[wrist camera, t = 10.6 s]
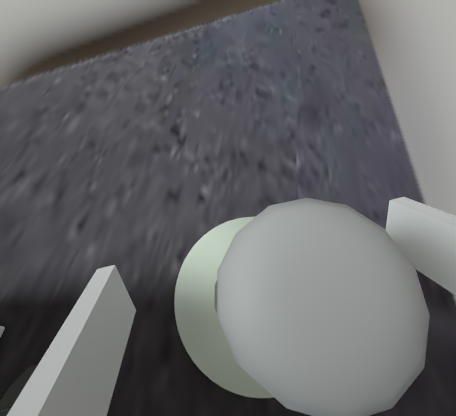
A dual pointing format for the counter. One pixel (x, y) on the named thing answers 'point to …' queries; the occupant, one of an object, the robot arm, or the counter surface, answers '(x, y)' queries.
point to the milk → (1, 330)
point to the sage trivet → (210, 313)
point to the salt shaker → (322, 309)
